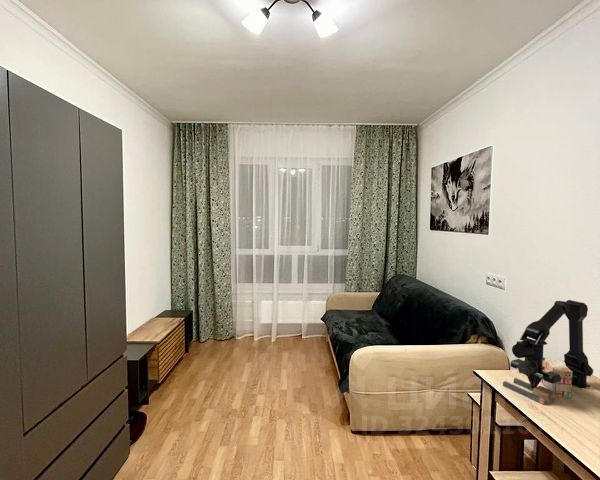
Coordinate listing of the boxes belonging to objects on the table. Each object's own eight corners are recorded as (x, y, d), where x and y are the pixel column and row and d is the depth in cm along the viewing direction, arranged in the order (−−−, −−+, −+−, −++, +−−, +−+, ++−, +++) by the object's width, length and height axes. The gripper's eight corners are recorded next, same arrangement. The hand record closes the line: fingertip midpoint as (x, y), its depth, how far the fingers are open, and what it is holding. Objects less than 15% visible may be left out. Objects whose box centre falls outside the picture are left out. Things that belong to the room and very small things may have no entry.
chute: (515, 382, 168) (515, 376, 168) (556, 400, 151) (556, 394, 151) (502, 385, 164) (503, 380, 164) (543, 404, 148) (543, 399, 148)
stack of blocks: (532, 375, 175) (533, 351, 174) (546, 376, 174) (548, 351, 173) (555, 397, 154) (556, 369, 153) (571, 398, 153) (572, 371, 152)
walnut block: (539, 394, 156) (540, 385, 156) (554, 401, 151) (554, 391, 150) (532, 397, 154) (533, 388, 154) (547, 403, 149) (547, 394, 148)
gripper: (502, 350, 160) (501, 383, 161) (545, 366, 143) (543, 403, 144) (519, 346, 164) (517, 379, 165) (562, 361, 147) (560, 397, 148)
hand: (533, 389), depth 156 cm, fingers closed
